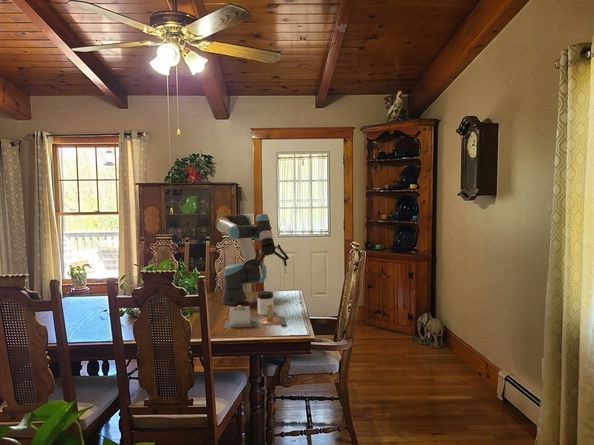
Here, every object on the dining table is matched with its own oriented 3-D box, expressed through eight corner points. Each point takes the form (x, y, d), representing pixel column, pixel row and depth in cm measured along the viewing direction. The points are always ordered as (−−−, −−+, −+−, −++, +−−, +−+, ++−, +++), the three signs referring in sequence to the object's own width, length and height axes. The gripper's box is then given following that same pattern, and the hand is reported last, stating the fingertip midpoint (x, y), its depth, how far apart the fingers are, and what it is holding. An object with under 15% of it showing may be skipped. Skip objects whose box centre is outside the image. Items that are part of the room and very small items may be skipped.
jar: (276, 315, 229) (275, 293, 228) (262, 317, 225) (261, 295, 225) (269, 311, 237) (269, 290, 236) (256, 313, 233) (255, 292, 233)
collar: (229, 326, 207) (229, 312, 206) (230, 320, 216) (229, 307, 216) (250, 325, 208) (249, 311, 207) (250, 319, 218) (249, 306, 217)
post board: (224, 329, 204) (223, 309, 204) (225, 321, 218) (225, 302, 218) (286, 326, 208) (285, 306, 207) (283, 318, 222) (283, 299, 221)
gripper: (244, 242, 241) (250, 278, 233) (287, 232, 242) (295, 268, 234) (246, 246, 248) (252, 281, 240) (288, 237, 249) (295, 271, 241)
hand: (273, 274), depth 237 cm, fingers open, 13 cm apart
